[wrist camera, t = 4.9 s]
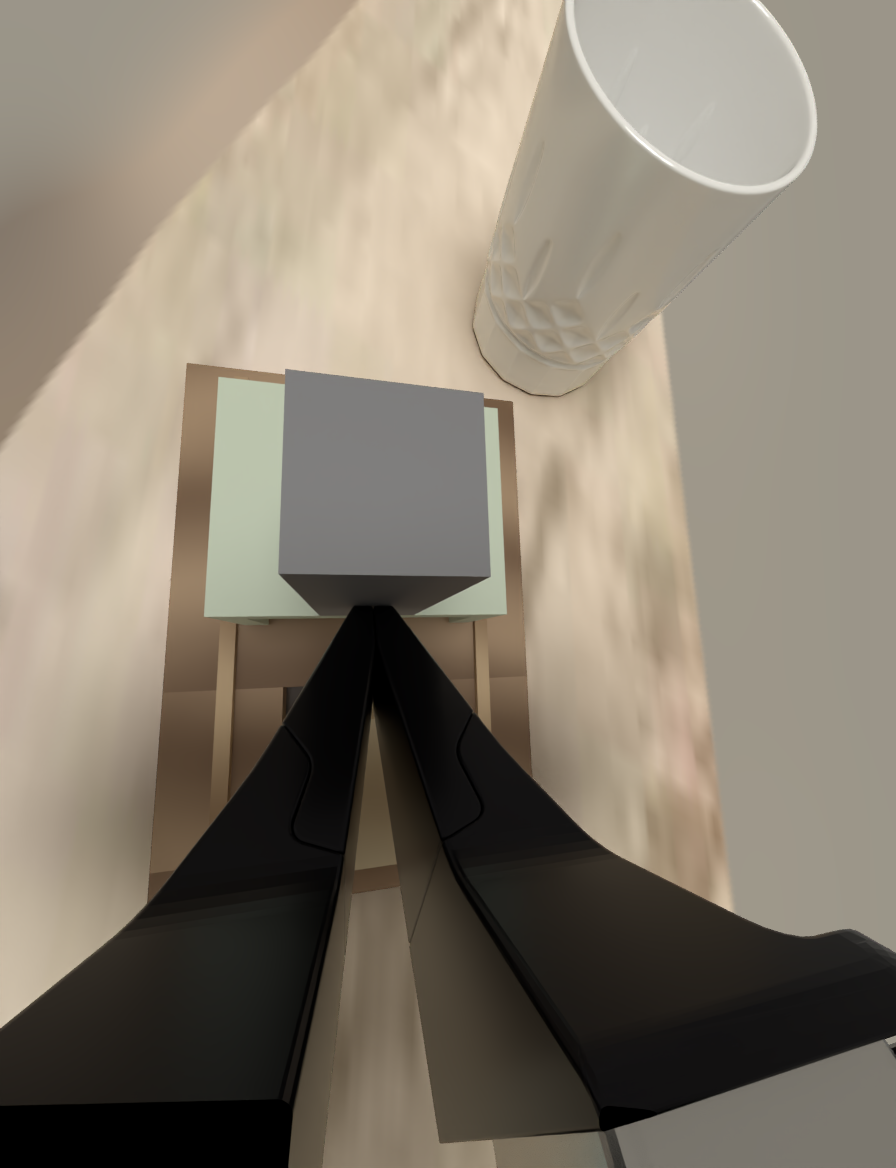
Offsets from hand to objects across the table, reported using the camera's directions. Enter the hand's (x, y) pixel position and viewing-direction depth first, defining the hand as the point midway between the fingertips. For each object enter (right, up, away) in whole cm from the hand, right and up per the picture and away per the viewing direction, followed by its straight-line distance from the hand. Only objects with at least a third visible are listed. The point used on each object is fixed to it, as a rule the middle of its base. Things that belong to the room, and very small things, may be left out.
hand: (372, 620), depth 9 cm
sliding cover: (-2, +2, +7) cm, 7 cm away
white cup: (+6, +13, +12) cm, 19 cm away
